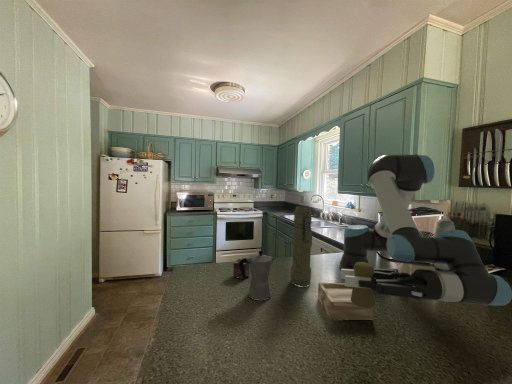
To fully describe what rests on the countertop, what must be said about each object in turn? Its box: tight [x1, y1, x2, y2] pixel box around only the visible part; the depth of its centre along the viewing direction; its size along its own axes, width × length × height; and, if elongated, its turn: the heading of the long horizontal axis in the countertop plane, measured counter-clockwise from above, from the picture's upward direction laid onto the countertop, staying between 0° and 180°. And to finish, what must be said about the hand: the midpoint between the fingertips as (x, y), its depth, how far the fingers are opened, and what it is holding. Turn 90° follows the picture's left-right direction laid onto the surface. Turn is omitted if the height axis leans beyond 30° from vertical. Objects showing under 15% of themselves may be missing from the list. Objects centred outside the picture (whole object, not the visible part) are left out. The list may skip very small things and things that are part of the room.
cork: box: [351, 262, 375, 308], centre depth 62 cm, size 6×6×11 cm
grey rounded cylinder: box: [432, 218, 456, 271], centre depth 120 cm, size 10×10×28 cm
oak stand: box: [317, 282, 374, 320], centre depth 79 cm, size 14×14×6 cm
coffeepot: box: [239, 250, 277, 300], centre depth 87 cm, size 15×9×18 cm, turn 110°
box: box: [232, 258, 250, 278], centre depth 105 cm, size 6×6×7 cm
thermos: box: [290, 204, 313, 286], centre depth 99 cm, size 9×12×35 cm
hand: (343, 277), depth 63 cm, fingers closed on cork, 4 cm apart
